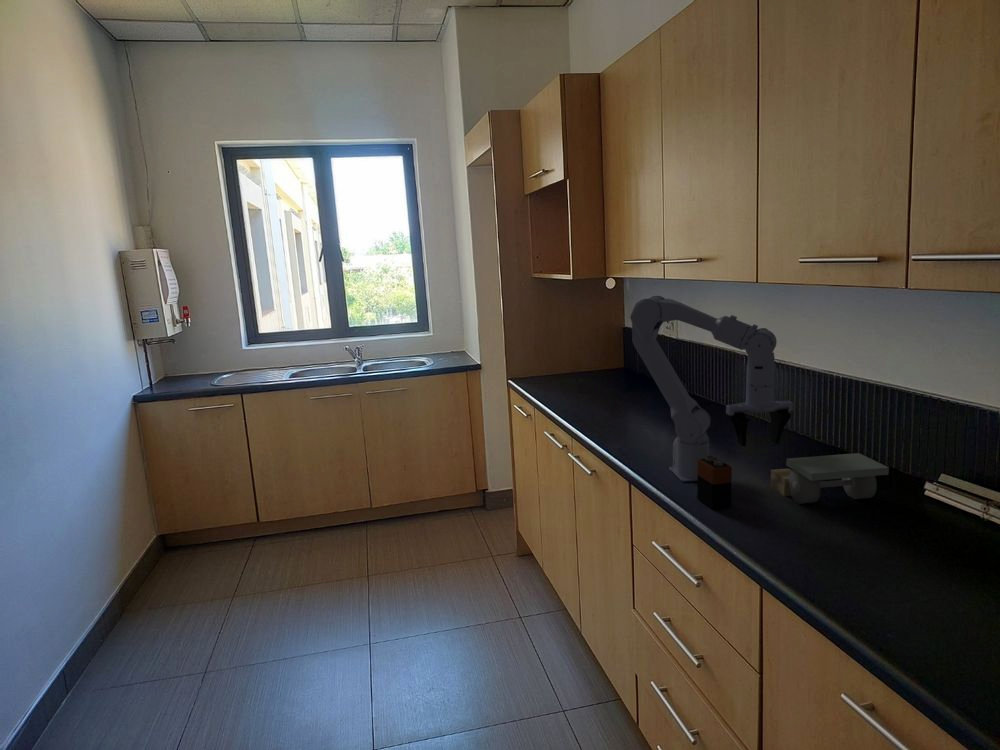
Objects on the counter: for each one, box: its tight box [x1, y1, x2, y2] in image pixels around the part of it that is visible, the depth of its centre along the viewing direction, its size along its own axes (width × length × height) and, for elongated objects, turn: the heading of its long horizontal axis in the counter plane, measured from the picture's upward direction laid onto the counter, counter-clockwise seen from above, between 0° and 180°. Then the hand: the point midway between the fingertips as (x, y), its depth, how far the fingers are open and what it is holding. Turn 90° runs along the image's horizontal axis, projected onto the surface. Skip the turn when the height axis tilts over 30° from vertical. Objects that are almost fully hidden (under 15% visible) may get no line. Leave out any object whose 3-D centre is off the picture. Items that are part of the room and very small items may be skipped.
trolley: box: [785, 452, 890, 505], centre depth 132 cm, size 10×16×8 cm, turn 95°
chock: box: [770, 468, 793, 497], centre depth 140 cm, size 6×4×4 cm, turn 4°
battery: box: [696, 454, 733, 510], centre depth 135 cm, size 4×7×10 cm, turn 12°
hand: (758, 443), depth 144 cm, fingers open, 7 cm apart
